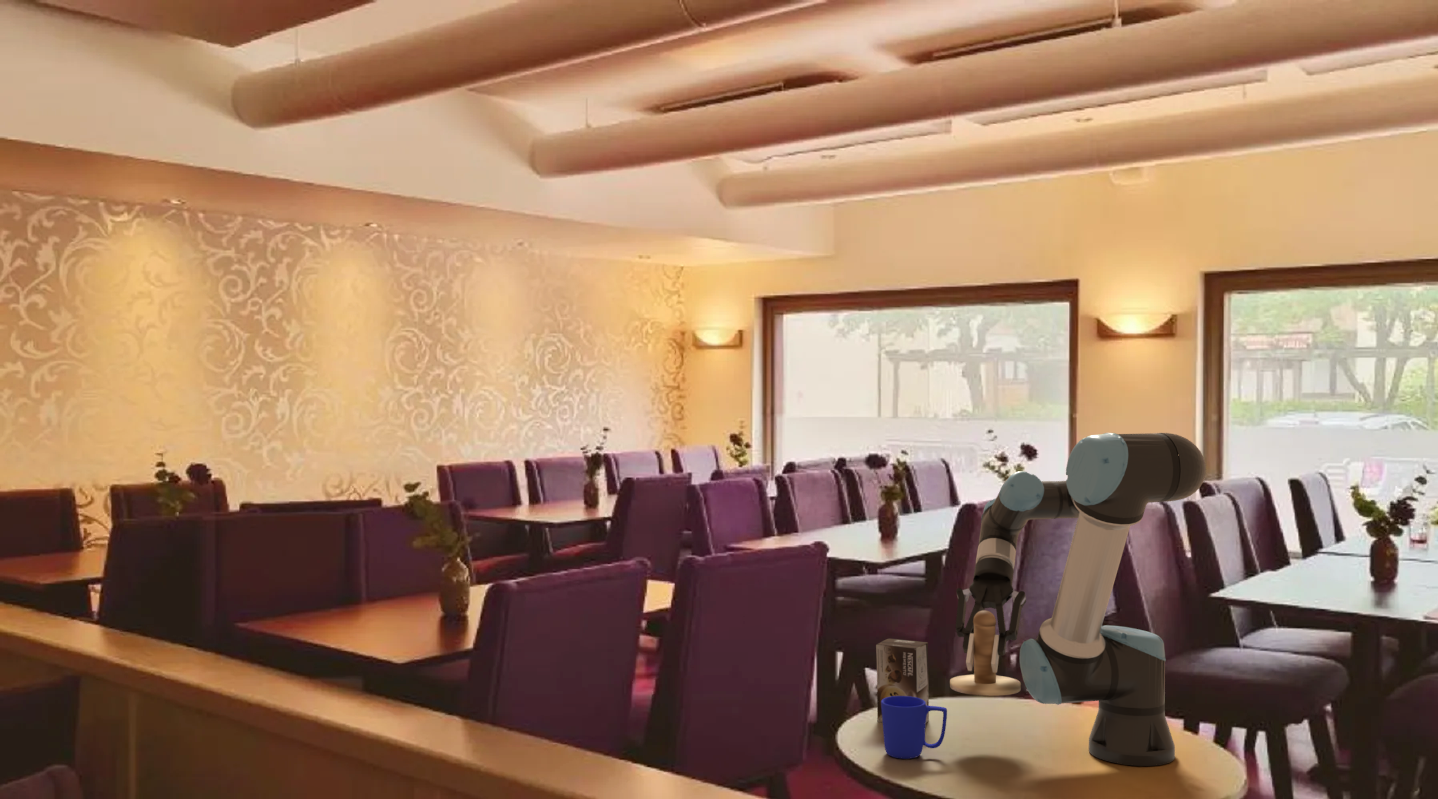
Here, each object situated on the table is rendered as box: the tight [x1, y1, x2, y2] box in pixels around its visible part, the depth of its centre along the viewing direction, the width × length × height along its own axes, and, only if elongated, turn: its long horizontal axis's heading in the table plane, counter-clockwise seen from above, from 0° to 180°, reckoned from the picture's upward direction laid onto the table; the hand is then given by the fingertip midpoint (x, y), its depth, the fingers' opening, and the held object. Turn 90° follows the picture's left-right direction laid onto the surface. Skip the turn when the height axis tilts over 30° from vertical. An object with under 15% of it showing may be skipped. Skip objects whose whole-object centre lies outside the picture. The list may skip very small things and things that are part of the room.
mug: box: [881, 696, 948, 760], centre depth 227 cm, size 8×12×10 cm
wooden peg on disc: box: [949, 609, 1022, 697], centre depth 232 cm, size 13×13×15 cm
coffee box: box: [875, 638, 930, 723], centre depth 250 cm, size 9×6×16 cm
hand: (981, 667), depth 228 cm, fingers closed on wooden peg on disc, 4 cm apart
